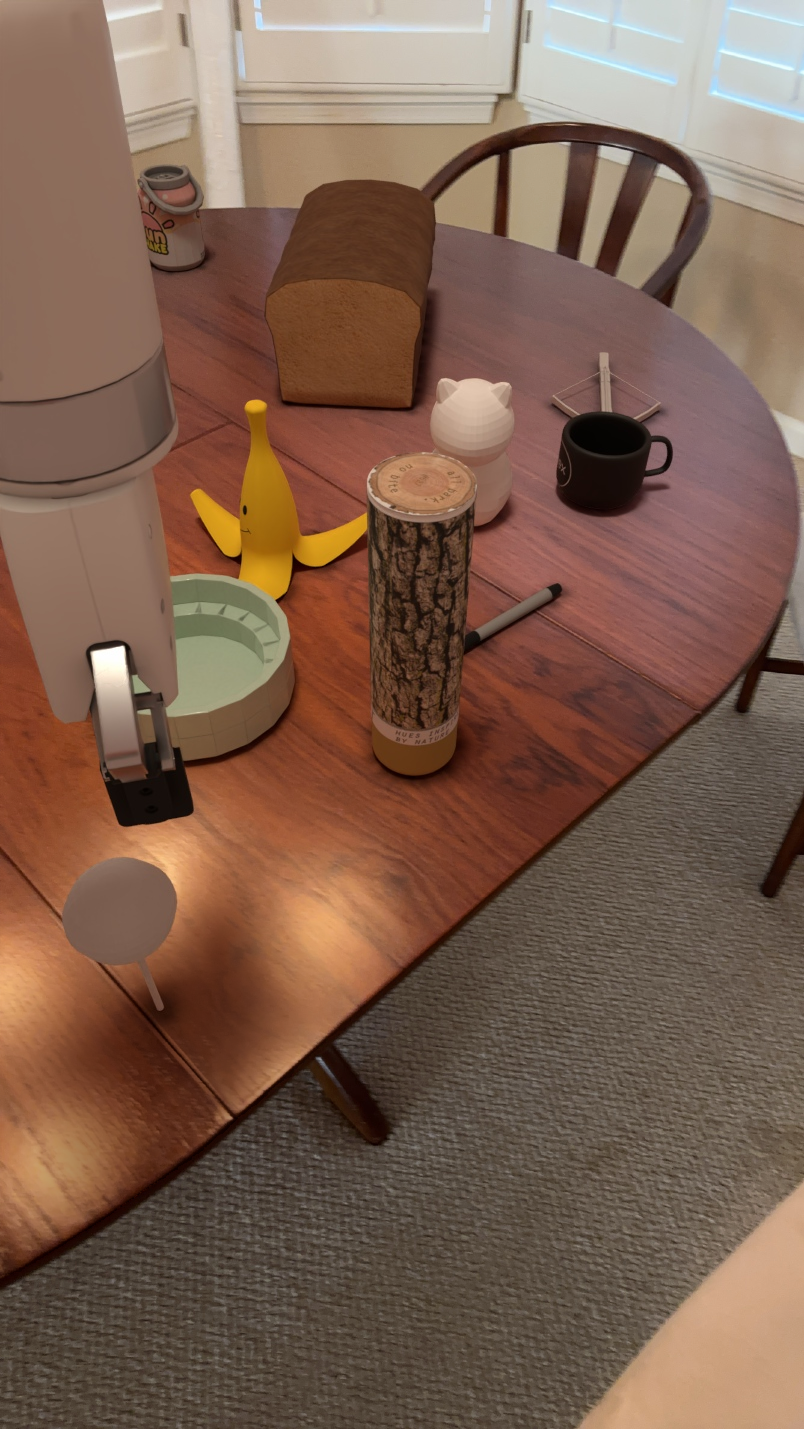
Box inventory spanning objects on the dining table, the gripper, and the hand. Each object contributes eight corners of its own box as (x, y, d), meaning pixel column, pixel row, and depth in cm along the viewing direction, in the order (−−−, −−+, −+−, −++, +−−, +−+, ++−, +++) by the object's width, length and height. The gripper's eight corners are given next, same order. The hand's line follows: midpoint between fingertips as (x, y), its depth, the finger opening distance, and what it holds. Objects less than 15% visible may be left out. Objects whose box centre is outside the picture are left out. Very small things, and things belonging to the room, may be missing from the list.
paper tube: (471, 737, 77) (497, 473, 58) (427, 793, 73) (441, 528, 55) (400, 704, 79) (404, 440, 61) (355, 756, 75) (344, 491, 57)
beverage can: (222, 263, 139) (211, 173, 130) (176, 280, 135) (161, 189, 126) (183, 245, 143) (170, 157, 134) (138, 261, 139) (120, 172, 130)
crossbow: (660, 441, 109) (664, 426, 107) (550, 434, 109) (552, 418, 108) (652, 366, 119) (656, 350, 117) (551, 359, 119) (553, 344, 118)
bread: (435, 301, 131) (439, 173, 119) (422, 413, 111) (426, 273, 99) (306, 295, 132) (297, 168, 120) (270, 405, 112) (255, 266, 100)
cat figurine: (418, 536, 95) (422, 399, 84) (429, 467, 103) (434, 334, 92) (507, 543, 94) (523, 406, 83) (511, 473, 103) (526, 340, 92)
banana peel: (237, 636, 84) (210, 475, 72) (193, 517, 96) (164, 362, 84) (409, 596, 88) (413, 437, 76) (347, 486, 100) (341, 333, 88)
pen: (562, 596, 89) (564, 585, 88) (432, 674, 82) (432, 664, 81) (552, 589, 90) (554, 578, 89) (422, 666, 82) (422, 655, 81)
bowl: (68, 756, 75) (47, 705, 71) (131, 618, 86) (117, 566, 82) (272, 776, 74) (265, 725, 70) (310, 633, 85) (306, 581, 81)
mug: (564, 520, 97) (574, 460, 92) (545, 471, 103) (553, 412, 98) (677, 514, 98) (693, 453, 93) (652, 465, 104) (666, 406, 99)
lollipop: (131, 1070, 58) (70, 952, 47) (98, 994, 62) (34, 867, 50) (223, 1020, 60) (185, 896, 49) (186, 949, 64) (143, 818, 53)
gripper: (-41, 297, 37) (67, 625, 49) (-87, 573, 25) (69, 907, 38) (155, 280, 38) (211, 604, 50) (195, 536, 27) (255, 872, 39)
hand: (150, 734), depth 44 cm, fingers open, 9 cm apart
